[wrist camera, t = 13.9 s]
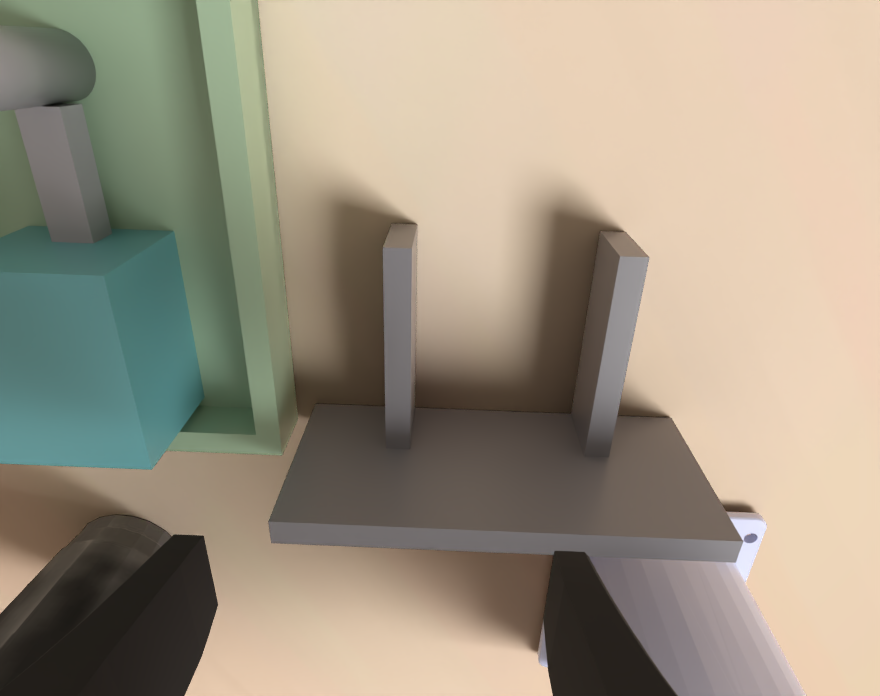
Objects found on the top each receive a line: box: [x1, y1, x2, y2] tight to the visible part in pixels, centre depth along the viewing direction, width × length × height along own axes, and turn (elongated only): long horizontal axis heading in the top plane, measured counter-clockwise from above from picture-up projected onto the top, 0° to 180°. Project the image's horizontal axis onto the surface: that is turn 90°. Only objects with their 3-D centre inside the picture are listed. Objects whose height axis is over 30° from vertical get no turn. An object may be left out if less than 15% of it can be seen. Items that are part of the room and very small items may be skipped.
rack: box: [268, 223, 743, 563], centre depth 17 cm, size 8×13×6 cm, turn 88°
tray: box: [0, 0, 298, 455], centre depth 17 cm, size 15×11×2 cm
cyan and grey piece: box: [0, 25, 205, 470], centre depth 15 cm, size 11×4×6 cm, turn 178°
